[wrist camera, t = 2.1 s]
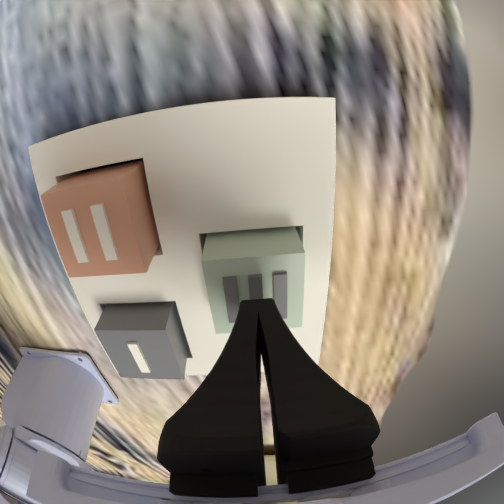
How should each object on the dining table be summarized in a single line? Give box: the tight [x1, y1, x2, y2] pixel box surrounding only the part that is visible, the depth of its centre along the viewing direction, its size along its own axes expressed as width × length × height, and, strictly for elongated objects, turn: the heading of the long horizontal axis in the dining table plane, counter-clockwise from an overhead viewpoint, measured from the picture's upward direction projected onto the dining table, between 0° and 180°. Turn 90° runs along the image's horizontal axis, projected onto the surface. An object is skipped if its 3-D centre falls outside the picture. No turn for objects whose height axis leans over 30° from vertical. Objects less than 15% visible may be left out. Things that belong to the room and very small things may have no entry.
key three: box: [201, 226, 305, 334], centre depth 15 cm, size 4×4×3 cm
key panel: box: [28, 97, 336, 375], centre depth 16 cm, size 15×17×2 cm
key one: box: [94, 301, 189, 379], centre depth 17 cm, size 4×4×3 cm
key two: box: [40, 160, 160, 278], centre depth 13 cm, size 4×4×3 cm
